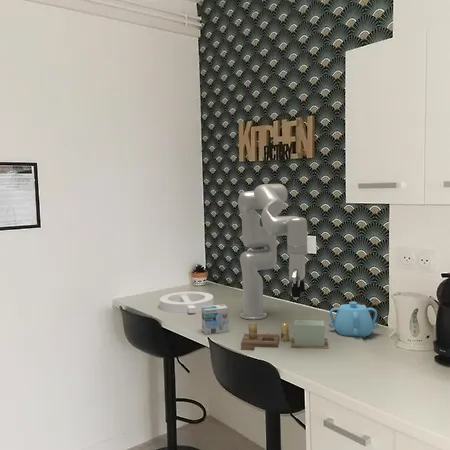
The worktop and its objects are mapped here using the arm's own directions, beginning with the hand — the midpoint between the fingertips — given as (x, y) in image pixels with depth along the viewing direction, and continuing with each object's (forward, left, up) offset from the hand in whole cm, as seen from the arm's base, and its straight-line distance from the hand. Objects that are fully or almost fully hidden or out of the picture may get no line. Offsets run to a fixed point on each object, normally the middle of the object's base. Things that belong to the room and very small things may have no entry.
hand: (298, 294), depth 187 cm
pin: (-4, -6, -21) cm, 22 cm away
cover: (-1, +4, -19) cm, 20 cm away
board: (-1, +4, -21) cm, 21 cm away
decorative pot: (-17, +22, -21) cm, 35 cm away
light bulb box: (-17, -36, -21) cm, 45 cm away
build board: (-1, -15, -21) cm, 26 cm away
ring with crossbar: (-59, -59, -21) cm, 86 cm away
